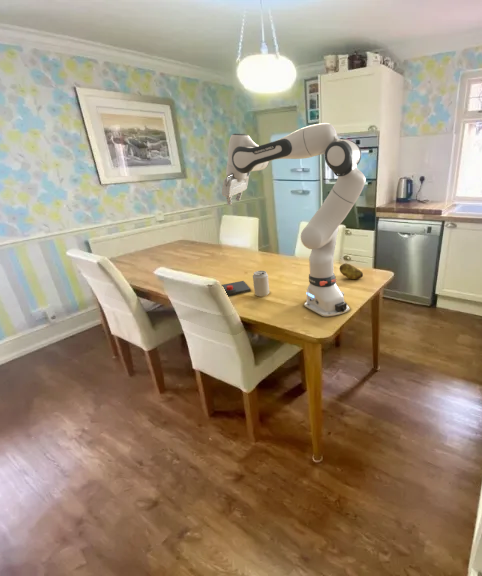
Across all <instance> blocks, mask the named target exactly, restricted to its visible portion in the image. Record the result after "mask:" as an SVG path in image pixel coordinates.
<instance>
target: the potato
mask: <svg viewBox="0 0 482 576" xmlns="http://www.w3.org/2000/svg"><path fill="white" fill-rule="evenodd" d="M339 272H340V273H341V275H342V276H344V277H346V278H347V279H349V280H359V279H362V278H363V276H364V273H363V271H362V270H361V269H359V268H358V267H355V266H354V265H352V264H350V263H343V264H341V265H340V266H339Z"/></svg>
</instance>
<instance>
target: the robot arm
mask: <svg viewBox="0 0 482 576" xmlns="http://www.w3.org/2000/svg"><path fill="white" fill-rule="evenodd" d="M320 155H324V161H325V163H326V166H328V167H329V169H330V170H331V171H332V172H333V174H334V175H335V176H336V177H337V179H336V181H335V183H334V185H333V186H332V188H331V190H329V193H328V194H327V197H326V198H325V200H324V201H323V203H322V204H321V205H320V207H319V208H318V209H317V211H316V212H315V213H314V215H313V216H312V217H311V219H310V220H309V222H308V223H307V224H306V225H305V227H304V228H303V230H302V231H301V232H300V242H301V244H302V245H303V246H304V247H305V248H306V249H309V250H311V252H310V255H309V258H308V262H309V266H308V267H309V273H308V282H309V284H308V287H307V288H306V292H305V295H306V302H304V304H303V305H304V307H305V308H307V309H309V310H310V311H312V312H314V313H316V314H318V315H319V316H322V317H325V318H327V317H335V316H339V315H342V314H345V313H347V312H349V311H350V310H351V309H350V306H349V305H348V303H347V302H345V292H344V291H341V290H340V286H338V284H337V278H336V275H335V269H334V267H335V265H334V262H335V259H334V258H335V250H336V245H337V239H338V238H337V237H338V234H339V228H340V227H339V226H340V225H341V224H342V223H343V221H344V220H345V219H347V216H348V215H349V213H350V212H351V210H352V208H353V207H354V205H355V204H356V203H357V201H358V199H359V198H360V195H361V194H362V191H363V190H364V187H365V185H366V182H367V181H366V180H367V179H366V177H365V176H366V175H365V174H364V173H363V172H362V171H361V170H360V169H359V168H358V165H359V164H360V162H361V159H362V149H361V147H360V146H359V145H358V144H357V143H356V142H355V141H353V140H350V139H346V138H343V137H341V138H339V136H338V133H337V130H336V128H335V127H334V125H333V124H332V123H330V122H329V123H328V122H323V123H316V124H311V125H308V126H305V127H302V128H299V129H297V130H295V131H293V132H291V133H289V134H287V135H285V136H282V137H281V138H279V139H276V140H274V141H271V142H268V143H264V144H261V145H259V144H257V143H256V142H255V141H254V140H252V138H251V137H250V135H249V134H246V133H232V134H231V135H230V137H229V141H228V146H227V161H226V172H225V175H226V177H225V178H224V179H223V181H222V187H221V195H222V197H225V199H226V205H228V206H232V205H233V200H232V198H233V197H234V196H235V201H236V202H239V201H241V198H242V195H243V192H244V191H246V190H247V189H248V184H249V180H250V179H249V177H250V176H251V172H259V171H263V170H265V169H266V168H267V167H268V166H269V163H270V162H272V161H274V160H285V159H286V160H289V159H290V160H302V159H310V158H314V157H316V156H320Z"/></svg>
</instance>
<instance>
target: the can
mask: <svg viewBox="0 0 482 576" xmlns="http://www.w3.org/2000/svg"><path fill="white" fill-rule="evenodd" d="M252 281H253V290H254V295H255V296H257V297H260V298H263V297H266V296H269V294H270V284H269V283H270V282H269V281H270V280H269V274H268V273H267V271H266V270H257V271H254V272H253V275H252Z"/></svg>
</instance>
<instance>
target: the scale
mask: <svg viewBox="0 0 482 576" xmlns="http://www.w3.org/2000/svg"><path fill="white" fill-rule="evenodd" d="M228 285H232V286H233V289H232V290H227V286H228ZM222 286H223V287H224V289H225V291H226V293H227V294H228V296H227V297H230V296H235V295H240V294H244V293H249V292H251V288H250V287H249V285H248V284H247V283H246V282H245V281H244V280H241V281H234V282H230V283H229V282H228V283H225V284H224V283H223V284H221V287H222ZM226 293H225V294H226ZM227 294H226V295H227Z"/></svg>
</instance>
